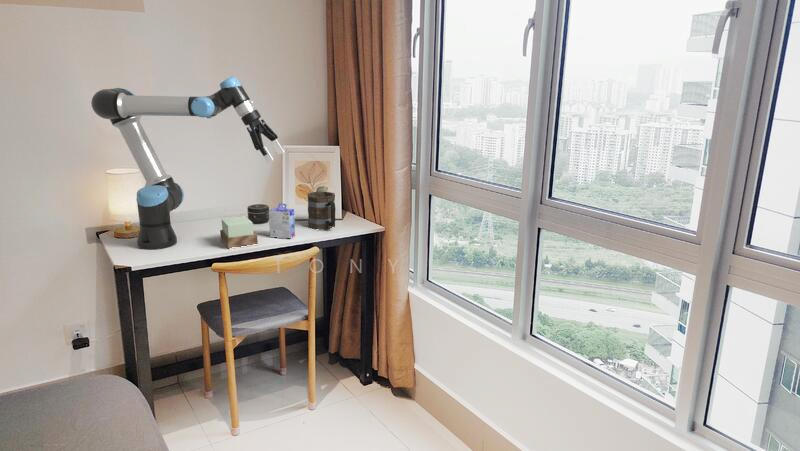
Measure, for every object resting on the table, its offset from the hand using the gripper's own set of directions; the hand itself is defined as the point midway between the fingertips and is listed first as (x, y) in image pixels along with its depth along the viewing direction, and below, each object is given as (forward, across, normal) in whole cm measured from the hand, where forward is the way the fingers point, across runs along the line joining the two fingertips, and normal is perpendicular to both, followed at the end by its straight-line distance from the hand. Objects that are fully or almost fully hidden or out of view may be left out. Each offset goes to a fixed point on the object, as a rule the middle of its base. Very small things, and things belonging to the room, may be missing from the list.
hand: (276, 157), depth 236 cm
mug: (+39, +13, +5) cm, 41 cm away
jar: (+23, +17, +33) cm, 44 cm away
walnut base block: (+22, -16, +28) cm, 39 cm away
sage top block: (+18, -16, +26) cm, 35 cm away
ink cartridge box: (+31, -4, +16) cm, 35 cm away
